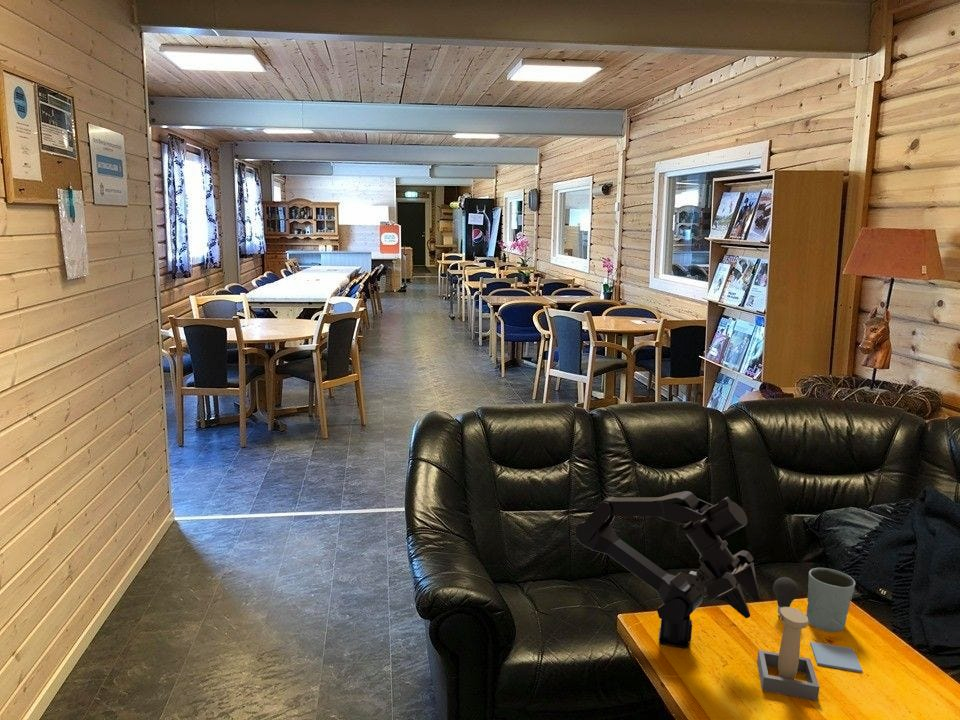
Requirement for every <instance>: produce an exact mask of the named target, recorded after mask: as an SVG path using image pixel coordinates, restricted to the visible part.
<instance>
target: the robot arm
mask: <svg viewBox="0 0 960 720" xmlns="http://www.w3.org/2000/svg"><path fill="white" fill-rule="evenodd" d="M616 517H655V518H659V519H662V520H664V521H665V522H671V523H676V524H678V525H677V531H676V532H677V533H676V538H677V539H679V538H681V537H683V536H685V535H686V536H687V538H688V540H689V541H690V543H691V544H692V545H693V547H694V548H695V549H696V551H697V553H698V554H699V557H698V562H699V564H700V566H699V568H698V569H697V570H695V571H693V570H690V572H688V574H687V575H686V574H685V573H684V572H682V571H680V572H679V573H677V574H676V575H674V574H670V573H668V572H666V571H665V570H664V569H662V567H659V566H658V565H657V564H655V563H654V562H653V561H651V560H650V559H649V558H647V557H646V556H644V555H643V554H642V553H641V552H639V551H638V550H636V549H635V548H633V547H632V546H630V545H629V544H628V543H627V542H625V541H624V540H622V539H621V538H620V537H618V535H617V533H616V531H615V528H614V527H613V525H611V524H612V522H613V521H614V519H615V518H616ZM688 521H689V522H688ZM686 522H687V523H686ZM748 522H749V521H748V517H747V515H746V512H745V510H744V509H743V508H742V507H741V506H739V505H738V504H737V503H736V502H734V501H732V500H731V498H730V497H729V496H726V497H724V498H723V499H722V500H721V501H719V502H718V503H716V504H715V505H714V504H712V503H710V502H707V501H705V500H702V499H701V498H698V497H697V496H696V495H695V494H694V493H693V492H691V491H688V490H684V491H680V492H679V491H678V492H675V493H670V494H666V495H663V496H659V497H656V496H655V497H651V496H649V497H647V496H646V497H644V496H643V497H639V496H637V497H636V496H635V497H633V496H632V497H616V496H609V497H607V498H605V499H603V500H602V501H600V503H599V504H598V505H597V507H596V508H595V509H594V511H593V512H592V513H591V514H589V516H588V517H587V518H586V519H585V520H584V521H582V522H581V523H579V524H578V525H577V526H576V528H575V535H576V540H577V542H578V543H579V544H580V545H582V546H583V547H585V548H588V549H589V550H591V551H595V552H598V553H601V554H605V555H606V556H608V557H610V558H611V559H612V560H613V561H615V562H617V563H618V564H620V566H622V567H624V568H625V569H626V570H627V571H629V572H630V573H632V574H633V575H634V576H635V577H637V578H638V579H639V580H641V581H642V582H643V583H645V584H646V585H647V586H649V587H650V588H651V589H653V590H654V591H656V593H657V594H658V597H659V598H660V599H661V602H662V604H661V605H660V606H659V607H657V609H656V611H657V616H658V618H659V619H660V628H659V630H658V631H659V634H658V643H659V644H661V645H667V646H673V647H677V648H684V649H688V648H689V647H690V646H689V644H690V643H691V640H692V633H693V632H692V631H693V621H692V619H691V615H692V614H693V612H695V611H696V609H698V607H699V606H700V605H701V604H702V603H703V600H704V597H703V592H704V594H705V595H706V597H707V598H708V600H713V601H723V602H725V603H727V604H728V605H729V606H731V608H733V609H734V610H735V611H736V612H738V613H739V614H740V615H741V616H742V617H744V618H745V619H748V618H750V617H751V613H750V612H751V611H750V609H749V607H748V604H747V601H746V598H745V595H744V592H743V589H744V590H745V591H746V592H747V594H749V597H751V598H752V599H753V600H754V601H755V602H756V603H757V602H760V601H761V595H760V591H759V586H758V581H757V576H756V571H755V566H754V565H755V563H754V562H753V561H754V560H755V559H754V557H753V556H752V554H751V553H750V552H749V551H747V550H744V549H742V550H740V551H738V552H737V553H735V554H732V552H731V551H730V550H729V548H728V547H727V546H728V545H729V543H728V541H727V540H726V539H725V540H722V539H721V537H724V538H725V537H727V536H728V535H731V534H732V533H734V532H736V531H739V529H741V528H744V527H745V526H747V524H748ZM720 536H721V537H720ZM703 588H704V591H703ZM742 588H743V589H742ZM702 591H703V592H702Z"/></svg>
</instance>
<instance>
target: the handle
mask: <svg viewBox="0 0 960 720" xmlns="http://www.w3.org/2000/svg"><path fill="white" fill-rule="evenodd" d="M779 617H780V621H781V622H782V623H783V631H782V635H781V641H780V647H779V651H778V653H779V659H778V668H777V669H778V670H777V671H778V676H777V677H781V678H786V679H792V680H796V676H797V673H798V672H797V669H798V664H799V657H800V655H801V654H800V651H801V637H802V636H801V633H802V629H806V628H807V627H808V626H809V623H808V617H807V616H806V614H805V613H804V612H803V611H802V610H799V609H798V608H796V607H792V606H790V607H782V608H780V614H779Z"/></svg>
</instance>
